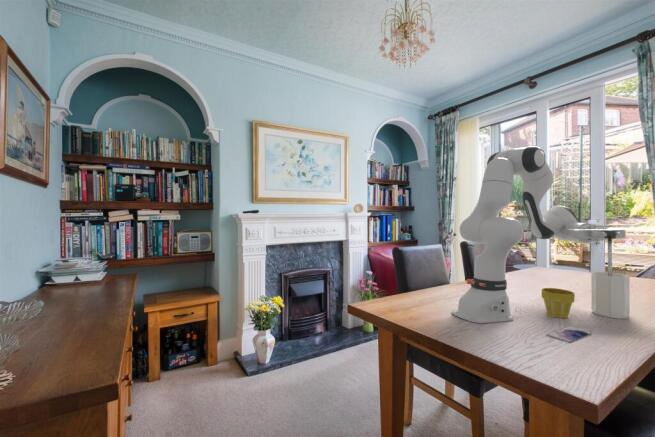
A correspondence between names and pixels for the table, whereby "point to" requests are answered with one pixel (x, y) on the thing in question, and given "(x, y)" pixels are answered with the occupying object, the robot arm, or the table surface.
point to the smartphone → (569, 334)
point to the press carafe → (610, 295)
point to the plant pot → (557, 301)
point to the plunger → (610, 249)
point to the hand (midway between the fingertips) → (611, 234)
